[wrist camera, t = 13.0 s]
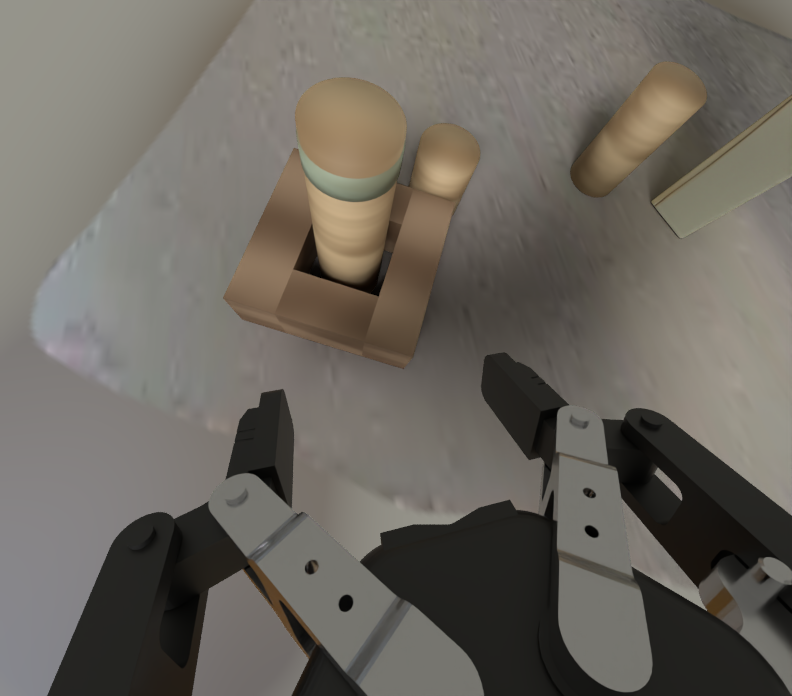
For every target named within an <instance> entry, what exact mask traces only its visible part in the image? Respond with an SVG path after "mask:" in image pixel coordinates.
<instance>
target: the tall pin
mask: <svg viewBox="0 0 792 696" xmlns="http://www.w3.org/2000/svg"><path fill="white" fill-rule="evenodd" d="M295 121H296V135H297V142H298V148H299V154H300V160H301V165H302V168H303V171H304V176H305V182H306V188H307V194H308V200H309V206H310V212H311V218H312V224H313V230H314V236H315V243H316V249H317V255H318V261H319V267H320V273H321V278H322V279H325V280H328V281H331V282H334V283H338V284H341V285H344V286H347V287H350V288H353V289H356V290H360V291H363V292H366V293H369V294H370V293H371V292H372V291H373V290H374V288H375V287H376V284H377V281H378V276H379V271H380V266H381V261H382V256H383V250H384V245H385V240H386V235H387V230H388V225H389V219H390V214H391V209H392V204H393V199H394V194H395V188H396V183H397V179H398V177H399V173H400V169H401V164H402V159H403V154H404V149H405V137H406V129H407V125H406V119H405V115H404V113H403V110H402V109H401V107H400V105H399V104H398V102H397V101H396V100H395V99H394V98H393V97H392V96H391V95H390V94H389V93H388V92H387V91H385V90H384V89H382V88H381V87H379V86H377V85H375V84H373V83H370V82H368V81H364V80H361V79H356V78H332V79H328V80H324V81H321V82H319V83H317V84H315V85H313V86H312V87H310V88H309V89H308V90H307V91H306V92H305V93H304V94H303V95H302V96H301V98H300V100H299V101H298V104H297V106H296V111H295Z"/></svg>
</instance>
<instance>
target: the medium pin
mask: <svg viewBox="0 0 792 696" xmlns="http://www.w3.org/2000/svg"><path fill="white" fill-rule="evenodd" d="M706 99H707V92H706V88H705V86H704V84H703V82H702V81H701V80H700V78H699V77H698V76H697V75H696V74H695V73H694V72H693V71H691V70H690V69H688V68H687V67H685V66H683V65H681V64H678V63H674V62H661V63H658V64H656V65H655V66H654V67H653V68H652V69H651V71H650V72H649V73H648V74H647V76H646V77H645V78H644V79H643V80H642V82H641V83H640V84H639V85H638V86H637V88H636V89H635V90H634V91H633V92H632V94H631V95H630V96H629V97H628V99H627V100H626V101H625V102H624V103H623V105H622V106H621V107H620V108H619V109H618V111H617V112H616V113H615V114H614V115H613V117H612V118H611V119H610V120H609V122H608V123H607V124H606V125H605V126H604V128H603V129H602V130H601V131H600V132H599V134H598V135H597V136H596V137H595V138H594V140H593V141H592V142H591V143H590V144H589V146H588V147H587V148H586V149H585V151H584V152H583V153H582V154H581V155H580V157H579V158H578V159H577V160H576V161H575V163H574V164H573V165H572V167H571V171H570V174H571V179H572V181H573V183H574V185H575V186H576V187H577V188H578V189H579V190H580V191H581V192H582V193H584V194H586V195H588V196H591V197H604V196H606V195H607V194H609V193H610V192H611V191H612V190H613V189H614V188H615V187H616V186H617V185H618V184H619V183H621V182H622V181H623V180H624V179H625V178H626V177H627V176H628V175H629V174H630V173H631V172H632V171H633V170H634V169H636V168H637V167H638V166H639V165H640V164H641V163H642V162H643V161H644V160H645V159H646V158H647V157H648V156H649V155H651V154H652V153H653V152H654V151H655V150H656V149H657V148H658V147H659V146H660V145H661V144H662V143H663V142H664V141H666V140H667V139H668V138H669V137H670V136H671V135H672V134H673V133H674V132H675V131H676V130H677V129H678V128H679V127H681V126H682V125H683V124H684V123H685V122H686V121H687V120H688V119H689V118H690V117H691V116H692V115H693V114H695V113H696V112H697V111H698V110H699V109H700V108H701V107H702V106H703V105H704V104H705V102H706Z"/></svg>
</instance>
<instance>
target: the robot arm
mask: <svg viewBox="0 0 792 696" xmlns="http://www.w3.org/2000/svg"><path fill="white" fill-rule="evenodd" d="M481 390H482V394H483V397H484V399H485V401H486V402H487V404H488V405H489V406H490V408H491V409H492V410H493V412H494V413H495V415H496V416H497V417H498V419H499V420H500V421H501V423H502V424H503V425H504V427H505V428H506V430H507V431H508V432H509V434H510V435H511V436H512V438H513V439H514V440H515V442H516V443H517V445H518V446H519V447H520V449H521V450H522V451H523V453H524V454H525V455H526V457H527V458H528V460H531V459H535V458H540V457H541V458H542V460H543V461H544V463H543V466H542V476H541V489H540V501H539V511H538V514H536V513H532V512H528V511H522V510H516V509H515V508H514V506H513V504H512V503H511V501H510V500H507V501H503V502H499V503H495V504H492V505H488V506H484V507H480V508H478V509H476V510H475V511H473V512H471V513H470V514H468V515H466V516H465V517H463V518H461V519H460V520H458V521H456V522H455V523H453V524H450V525H410V526H407V527H403V528H399V529H395V530H391V531H387V532H383V533H380V536H381V545H380V546H378V547H376V548H375V549H373V550H372V551H371V552H369V553H368V554H367V555H366V556H365V557H364V558H363V559H362V560H361V561H360V562H359V561H358V560H357V559H356V558H354V556H352V555H351V554H350V553H349V552H348V551H347V550H346V549H345V548H344V547H343V546H342V545H341V544H339V543H338V542H337V541H336V540H335V539H334V538H333V537H332V536H331V535H330V534H329V533H328V532H326V531H325V530H324V529H323V528H322V527H321V526H320V525H319V524H318V523H317V522H316V521H314V520H313V519H312V518H311V517H310V516H309V515H308V514H306V513H304V512H301V513H300V514H297V513H295V512H294V511H293V510H292V484H293V453H294V429H293V423H292V418H291V415H290V411H289V407H288V403H287V400H286V396H285V392H284V390H283V389H281V390H275V391H269V392H264V393H262V394H261V398H260V404H259V407H258V408H252V409H248V410H247V411H246V413H245V414H244V415H243V417H242V418H241V419H240V421H239V425H238V429H237V434H236V438H235V443H234V446H233V451H232V455H231V459H230V463H229V468H228V472H227V476H226V480H225V481H223V482H222V483H221V484H220V485H219V486H218V487H217V488H216V489H215V490H214V491H213V493H212V495H211V497H210V499H209V501H208V502H207V503H205V504H204V505H202V506H200V507H198V508H196V509H194V510H192V511H190V512H188V513H186V514H184V515H182V516H179V517H177V518H175V519H173V518H172V516H171V515H169V514H167V513H163V512H156V513H152V514H148V515H145V516H143V517H141V518H139V519H137V520H135V521H134V522H132V523H131V524H130V525H128V526H127V527H126V528H125V529H124V530H123V531H122V532H121V533H120V534H119V535H118V536H117V537H116V539H115V540H114V542H113V543H112V545H111V547H110V550H109V552H108V554H107V556H106V559H105V561H104V563H103V566H102V568H101V570H100V573H99V575H98V578H97V580H96V582H95V585H94V587H93V589H92V592H91V594H90V596H89V599H88V601H87V603H86V606H85V608H84V611H83V613H82V615H81V618H80V620H79V622H78V625H77V627H76V630H75V632H74V634H73V636H72V639H71V641H70V643H69V646H68V648H67V651H66V653H65V655H64V658H63V660H62V662H61V665H60V667H59V669H58V672H57V674H56V676H55V679H54V681H53V683H52V686H51V688H50V691H49V693H48V695H47V696H192V690H193V685H194V678H195V672H196V665H197V659H198V653H199V647H200V640H201V634H202V628H203V622H204V615H205V609H206V602H207V596H208V590H209V588H211V587H212V586H214V585H216V584H218V583H219V582H221V581H223V580H224V579H226V578H228V577H230V576H231V575H233V574H235V573H236V572H238V571H240V570H241V569H242V570H243V571H244V572H245V574H246V575H247V576H248V578H249V579H250V580H251V582H252V583H253V584H254V586H255V587H256V588H257V589H258V591H259V592H260V593H261V595H262V596H263V597H264V598H265V600H266V601H267V602H268V604H269V605H270V606H271V608H272V609H273V610H274V612H275V613H276V615H277V616H278V617H279V619H280V620H281V622H282V624H283V625H284V627H285V628H286V630H287V631H288V633H289V634H290V635H291V637H292V638H293V640H294V641H295V642H296V643H297V645H298V646H299V647H300V649H301V650H302V651H303V653H304V654H305V655H306V657H307V658H308V659H309V661H308V663H307V665H306V667H305V669H304V671H303V673H302V675H301V677H300V679H299V681H298V683H297V685H296V687H295V690H294V692H293V694H292V696H792V516H791V515H790V514H789V513H788V512H786V511H785V510H784V509H782V508H781V507H780V506H779V505H777V504H776V503H775V502H774V501H772V500H771V499H770V498H768V497H767V496H766V495H765V494H763V493H762V492H761V491H760V490H758V489H757V488H756V487H754V486H753V485H752V484H751V483H749V482H748V481H747V480H746V479H744V478H743V477H742V476H740V475H739V474H738V473H737V472H735V471H734V470H733V469H732V468H730V467H729V466H728V465H727V464H725V463H724V462H723V461H721V460H720V459H719V458H718V457H716V456H715V455H714V454H713V453H711V452H710V451H709V450H707V449H706V448H705V447H704V446H702V445H701V444H700V443H699V442H697V441H696V440H695V439H693V438H692V437H691V436H690V435H688V434H687V433H686V432H685V431H683V430H682V429H681V428H679V427H678V426H677V425H676V424H674V423H673V422H672V421H671V420H669V419H668V418H667V417H665V416H663V415H661V414H659V413H657V412H655V411H652V410H648V409H642V408H635V409H631V410H629V411H628V412H627V413H626V415H625V418H624V420H609V419H601V418H600V417H599V416H598V415H597V414H595V413H594V412H592V411H591V410H589V409H587V408H584V407H580V406H574V405H569V404H568V403H567V402H566V401H565V400H564V399H562V398H561V397H560V396H559V395H558V394H557V393H556V392H555V391H554V390H553V389H552V388H551V387H550V386H549V385H548V384H546V383H545V381H544V380H542V379H541V378H539V376H538V375H537V374H536V373H535V372H534V371H533V370H532V369H531V368H529V367H527V366H525V365H523V364H522V363H520V362H517V363H516V362H515V361H514V360H513V359H512V358H511V357H510V356H509V355H508V354H506V353H498V354H492V355H487V356H486V357H485V359H484V367H483V375H482V384H481ZM657 468H659V469H660V470H662V471H663V472H664V473H665V474H666V475H667V476H668V477H669V478H670V479H671V480H672V481H673V482H674V483H675V484H676V485H677V486H678V487H679V489H680V491H681V493H682V501H681V500H680V499H679V498H678V497H677V496H676V495H675V494H674V493H673V492H672V491H671V490H670V489H669V488H668V487H667V486H666V485H665V484H664V483H663V482H662V481H661V480H660V479H659V478H658V477H657V476H656V475H655V474H654V473H655V471H656V470H657ZM621 498H622V499H623V500H624V501H625V503H626V504H627V505H628V506H629V507H630V509H631V510H632V511H633V512H634V513H635V514H636V516H637V517H638V518H639V519H640V520H641V522H642V523H643V524H644V525H645V526H646V527H647V529H648V530H649V531H650V532H651V533H652V535H653V536H654V537H655V538H656V539H657V540H658V542H659V543H660V544H661V545H662V546H663V548H664V549H665V550H666V551H667V552H668V553H669V555H670V556H671V557H672V558H673V559H674V561H675V562H676V563H677V564H678V565H679V566H680V568H681V569H682V570H683V571H684V572H685V573H686V575H687V576H688V577H689V578H690V579H691V581H692V582H693V583H694V584H695V585H696V586H697V588H698V589H699V595H700V598H701V601H702V603H703V604H704V606H705V608H706V609H707V611H706V610H704V609H702V608H701V607H699V606H697V605H695V604H694V603H692V602H690V601H689V600H687V599H685V598H684V597H682V596H680V595H679V594H677V593H675V592H674V591H672V590H670V589H668V588H667V587H665V586H663V585H662V584H660V583H658V582H657V581H655V580H653V579H652V578H650V577H648V576H646V575H645V574H643V573H641V572H640V571H638V570H636V569H635V568H633V567H631V560H630V553H629V547H628V540H627V533H626V526H625V520H624V513H623V506H622V499H621Z"/></svg>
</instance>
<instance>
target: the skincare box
mask: <svg viewBox="0 0 792 696" xmlns="http://www.w3.org/2000/svg"><path fill="white" fill-rule="evenodd" d="M791 176H792V95H791V96H789V97H788V98H787V99H785V100H784V101H783V102H781V103H780V104H779V105H777V106H776V107H775V108H773V109H772V110H771V111H769V112H768V113H767V114H766V115H764V116H763V117H762V118H760V119H759V120H758V121H756V122H755V123H754V124H752V125H751V126H750V127H748V128H747V129H746V130H744V131H743V132H742V133H740V134H739V135H738V136H736V137H735V138H734V139H732V140H731V141H730V142H728V143H727V144H726V145H724V146H723V147H722V148H720V149H719V150H718V151H716V152H715V153H714V154H712V155H711V156H710V157H709V158H707V159H706V160H705V161H703V162H702V163H701V164H699V165H698V166H697V167H695V168H694V169H693V170H691V171H690V172H689V173H687V174H686V175H685V176H683V177H682V178H681V179H679V180H678V181H677V182H675V183H674V184H673V185H672V186H670V187H669V188H668V189H666V190H665V191H664V192H662V193H661V194H660V195H658V196H657V197H656V198H655V199H653V200H652V201H651V203H652V204H653V205H654V206H655V208H656V209H657V210H658V212H659V213H660V214H661V215H662V217H663V218H664V219H665V220H666V222H667V223H668V224H669V225H670V227H671V228H672V229H673V230H674V232H675V233H676V234H677V236H678V237H679V238H681V239H682V238H684V237H686V236H688V235H690V234H691V233H693V232H695V231H697V230H698V229H700V228H702V227H704V226H705V225H707V224H709V223H711V222H712V221H714V220H716V219H718V218H719V217H721V216H723V215H725V214H726V213H728V212H730V211H732V210H733V209H735V208H737V207H739V206H740V205H742V204H744V203H746V202H747V201H749V200H751V199H753V198H755V197H756V196H758V195H760V194H762V193H763V192H765V191H767V190H769V189H770V188H772V187H774V186H776V185H777V184H779V183H781V182H783V181H784V180H786V179H788V178H790V177H791Z"/></svg>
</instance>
